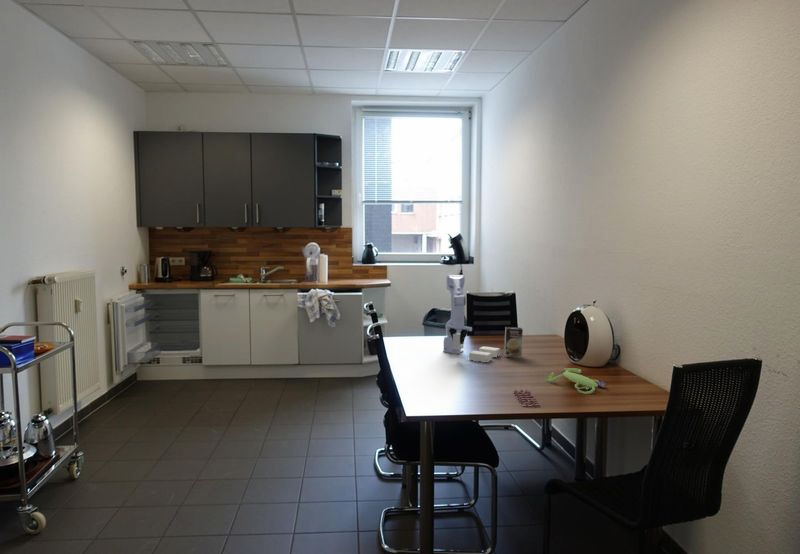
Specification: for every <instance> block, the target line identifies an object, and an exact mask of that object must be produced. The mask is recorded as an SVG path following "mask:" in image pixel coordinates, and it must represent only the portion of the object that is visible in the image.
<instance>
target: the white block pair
mask: <svg viewBox="0 0 800 554" xmlns="http://www.w3.org/2000/svg"><path fill="white" fill-rule="evenodd" d="M499 355H500V356H501V348H500V347H491V346H481V347H478V350H473V351H471V352H469V361H471V360H473V361H472V362H478V361H481V362H480V363H485V362H488V361H489V362H491V361H492V358H494V357H496V358H498V357H500V356H499ZM497 356H498V357H497ZM490 360H491V361H490ZM489 362H488V363H489Z"/></svg>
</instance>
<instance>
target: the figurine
mask: <svg viewBox="0 0 800 554" xmlns="http://www.w3.org/2000/svg"><path fill="white" fill-rule="evenodd" d="M563 371H564V372H562V373H561V374H558V375H557V376H555V372H551V373H550V374H548V376H547V378H546V383H548V382H554V381H555V380H558V379H561V378H566V379H567V380H569V381H571V382H573V383H574V388H575V389H576V390H577V391H578V393H579V394H582V393H583V394H582V395H590V394H593V393H594V392H595V391H596V388H597V387H599V388H603V389H604V388H605V385H606V382H604V381H602V380H601V379H600V380H598V379H593V378H589V377H587V376H584V375H582V374H581V373H582V370H581V369H580V368H573V367H572V368H571V367H569V368H567V367H564V368H563ZM579 385H581V386H582V387H579ZM581 389H583V390H584V389H586V391H583V390H581ZM589 389H590V390H589ZM588 390H589V391H588Z"/></svg>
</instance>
